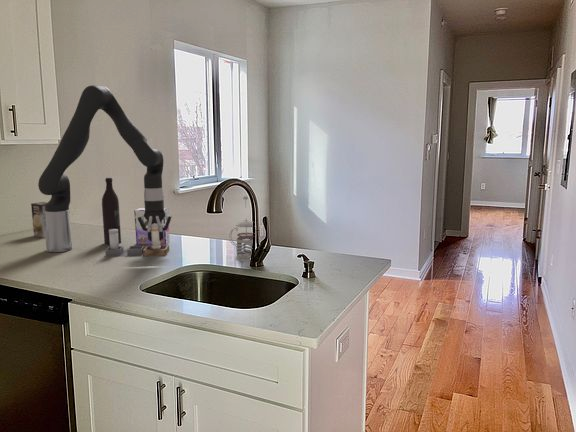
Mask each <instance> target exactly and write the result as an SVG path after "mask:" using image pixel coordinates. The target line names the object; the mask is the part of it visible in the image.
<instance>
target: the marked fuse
mask: <svg viewBox="0 0 576 432" xmlns="http://www.w3.org/2000/svg"><path fill="white" fill-rule="evenodd" d="M159 232H160V230H159V227H158V224H152V225H151V238H152V244H151V245H152V249H161V245H160V239H159Z"/></svg>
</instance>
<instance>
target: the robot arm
mask: <svg viewBox="0 0 576 432" xmlns="http://www.w3.org/2000/svg"><path fill="white" fill-rule="evenodd" d="M99 110H102V111H103V112H104V113H106V115H107V116H108V117H109V118H110V119H111V120H112V122H113V124H114V126H115V127H116V131H118V134H119V136H120V137H121V138H122V140H123V141H124V142H125V143H126V144H127V145H128V146H129V147H130V149H132V151H133V153H134V154H135V156H136V158H137V160H138V161H139V162H140V163H141V164H142V165H143V166H145V167H146V173H145V174H144V177H143V184H144V185H143V186H144V187H143V188H144V189H143V190H144V191H143V197H144V198H143V199H144V200H143V201H144V208H145V213H144V215H143V216H139V217H138V221H139V223H140V225H141V227H142V229H143V231H147V232H148V240H150V241H152V238H151V225H152V224H154V223H155V224H158V227H159V230H160V232H159V239H160V241H162V239H163V238H164V236H163V231H165V230H167V229H168V226H169V227H170V222H171V221H172V218H173V217H172V215H169V214H168V215H166V214H165V212H164V208H165V204H164V203H165V202H164V201H165V200H164V197H165V196H164V189H163V178H162V177H163V169H164V155H163V154H162V152H161V151H160V150H159V149H156V148H152V147H150V145H149V144H148V143H147V141H148V140H147V138H146V136H145V135H144V134H143V133H142V132H141V130H140V129H139V128H138V127H137V126H136V125H135V124H134V122H133V121H132V120H131V119H130V118H129V116H128V115H127V113H126V112H125V111H124V109H123V107H122V106H121V105H120V103H119V102H118V100H117V99H116V97H115V95H114V94H113V93H112V91H111V90H110V89H109V88H108V87H107V86H105V85H95V84H92V85H91V84H90V85H88V86H85V88H84V89H83V91H82V92H81V95H80V98H79V100H78V103H77V106H76V108H75V112H74V113H73V116H72V118H71V120H70V121H69V124H68V126H67V128H66V130H65V132H64V133H63V135H62V137H61V139H60V141H59V144H58V146H57V148H56V149H55V151H54V154H53V155H52V158H51V159H50V161H49V163H48V164H47V165H46V167H45V169H44V170H43V172H42V173H41V175H40V176H39V179H38V183H37V184H38V190H39V192H40V193H41V194H43V195H45V196H51V197H50V199H49V201H48V202H46V204H45V215H46V226H47V229H45V237H46V238H45V245H46V253H47V252H50V253H62V252H68V251H71V250H73V241H72V231H71V229H72V228H71V219H70V218H71V216H70V204H71V183H70V178H69V176H68V175H67V174H66V173H65V171H66V170H67V169H68V168H69V167H70V166H71V165H72V164H73V163H75V162H76V161H77V160H78V159H79V157H80V156H82V154H83V153H84V151H85V149H86V147H87V145H88V142H89V140H90V135H91V134H90V131H91V130H90V129H91V124H92V121H93V119H94V117H95V115H96V113H97V112H98V111H99ZM164 217H165V218H166V221H167V222H166V225H165V227H163V225H162V220H163V219H164ZM144 218H146V220H147V221H148V222H149V223H148V228H147V227H146V225H145V223H144Z"/></svg>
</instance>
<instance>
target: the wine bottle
mask: <svg viewBox="0 0 576 432" xmlns="http://www.w3.org/2000/svg"><path fill="white" fill-rule="evenodd" d="M104 181H105V185H106V186H105V190H104V192H103V195H102V198H101V208H102V224H103V225H102V226H103V239H104V241H103V242H104V245H107V246H108V245H109V246H110V238H109V230H110V229H118V240H119V245H120V244H122V235H121V219H120V218H121V217H120V216H121V215H120V203H119V197H118V195H117V192H115V190H114V186H113V178H112V177H106V178H105V180H104Z"/></svg>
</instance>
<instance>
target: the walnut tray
mask: <svg viewBox="0 0 576 432" xmlns="http://www.w3.org/2000/svg"><path fill="white" fill-rule="evenodd" d="M169 252H170V244H166V245H161V249H152V244H146V245H145V248H144V250H143V255H142V256H144V257H145V256H146V257H148V256H149V257H151V256H153V257H155V256H167V255H168V253H169Z"/></svg>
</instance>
